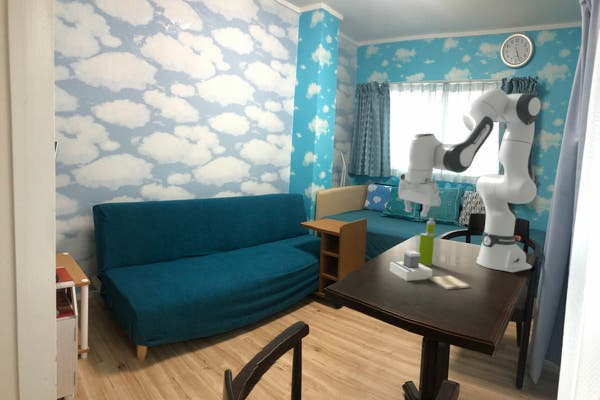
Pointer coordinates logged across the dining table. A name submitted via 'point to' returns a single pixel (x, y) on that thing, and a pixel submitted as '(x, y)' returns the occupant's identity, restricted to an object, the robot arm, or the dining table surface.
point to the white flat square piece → (410, 271)
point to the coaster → (449, 282)
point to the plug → (411, 259)
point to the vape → (427, 244)
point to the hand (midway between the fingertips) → (415, 214)
